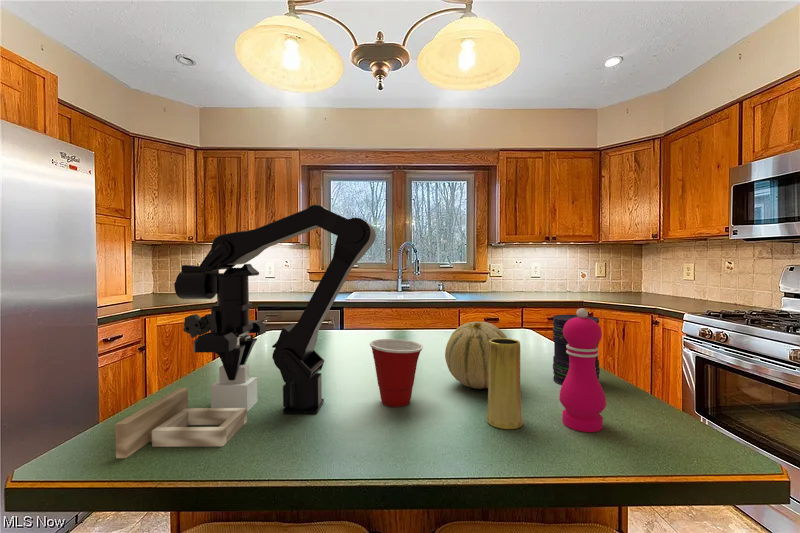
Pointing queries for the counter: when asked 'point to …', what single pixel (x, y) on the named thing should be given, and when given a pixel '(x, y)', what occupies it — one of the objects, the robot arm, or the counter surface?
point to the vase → (504, 384)
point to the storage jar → (564, 349)
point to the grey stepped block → (234, 390)
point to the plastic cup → (395, 369)
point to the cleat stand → (177, 425)
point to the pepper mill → (582, 375)
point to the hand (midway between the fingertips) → (234, 378)
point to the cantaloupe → (471, 353)
